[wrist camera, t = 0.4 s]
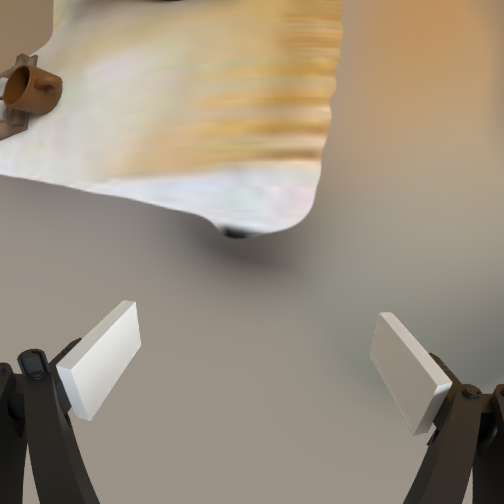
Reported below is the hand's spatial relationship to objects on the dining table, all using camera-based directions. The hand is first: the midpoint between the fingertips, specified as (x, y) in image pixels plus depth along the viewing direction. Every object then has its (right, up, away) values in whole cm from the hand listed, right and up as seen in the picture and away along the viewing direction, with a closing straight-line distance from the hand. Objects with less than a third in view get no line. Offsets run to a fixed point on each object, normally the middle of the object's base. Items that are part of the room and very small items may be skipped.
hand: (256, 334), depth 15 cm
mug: (-34, +32, +22) cm, 51 cm away
